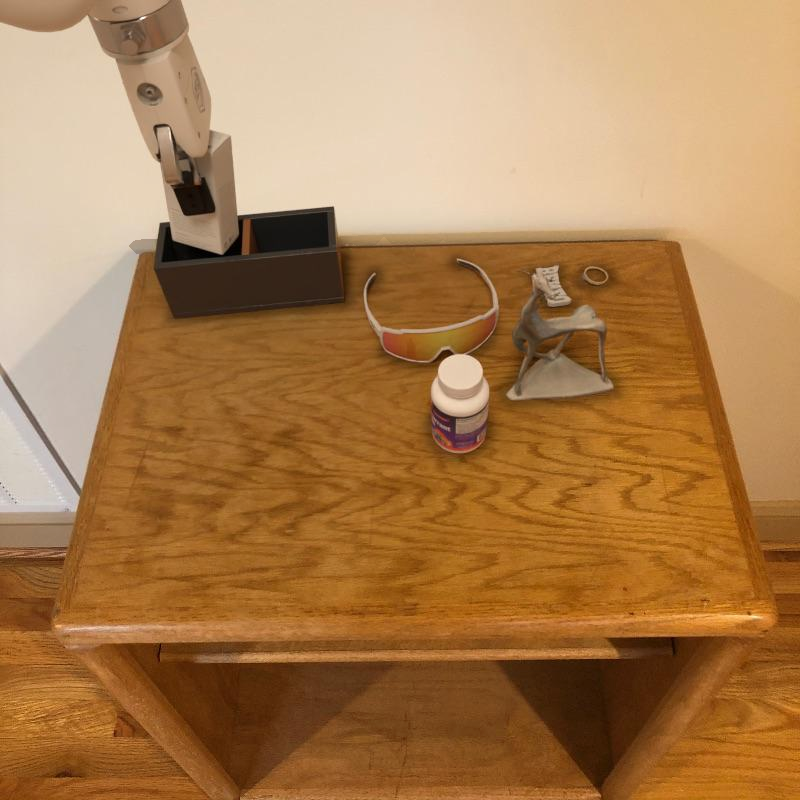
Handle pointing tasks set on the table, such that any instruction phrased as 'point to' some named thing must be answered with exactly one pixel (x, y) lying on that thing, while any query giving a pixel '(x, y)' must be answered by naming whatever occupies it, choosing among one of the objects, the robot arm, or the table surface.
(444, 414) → the pill bottle
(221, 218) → the cosmetic box
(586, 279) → the ring
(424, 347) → the sunglasses
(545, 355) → the figurine
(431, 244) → the table surface
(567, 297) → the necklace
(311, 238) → the caddy
